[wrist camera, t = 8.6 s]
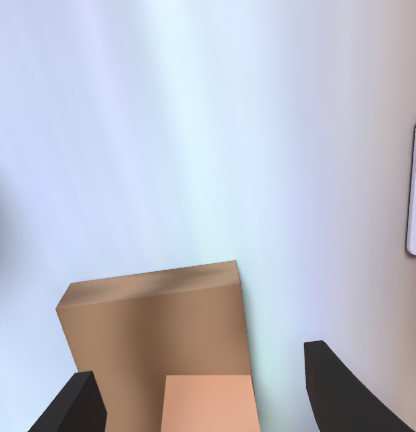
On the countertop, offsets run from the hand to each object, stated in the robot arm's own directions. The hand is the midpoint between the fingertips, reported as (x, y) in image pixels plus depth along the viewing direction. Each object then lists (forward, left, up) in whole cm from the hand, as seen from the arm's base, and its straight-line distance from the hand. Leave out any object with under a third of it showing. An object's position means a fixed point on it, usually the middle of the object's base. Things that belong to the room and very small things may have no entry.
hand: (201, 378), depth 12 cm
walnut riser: (+3, +8, -9) cm, 13 cm away
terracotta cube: (+1, +10, -7) cm, 12 cm away
